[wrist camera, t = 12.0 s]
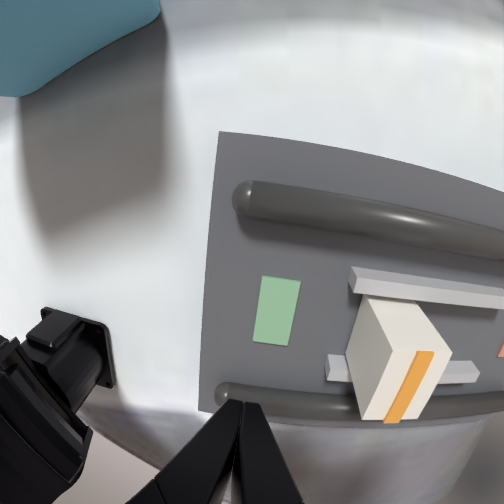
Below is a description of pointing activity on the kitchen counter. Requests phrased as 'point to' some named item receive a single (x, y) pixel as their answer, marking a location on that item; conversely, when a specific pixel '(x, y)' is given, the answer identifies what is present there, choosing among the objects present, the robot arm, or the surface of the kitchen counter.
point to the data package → (60, 36)
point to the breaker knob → (394, 358)
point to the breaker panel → (344, 278)
